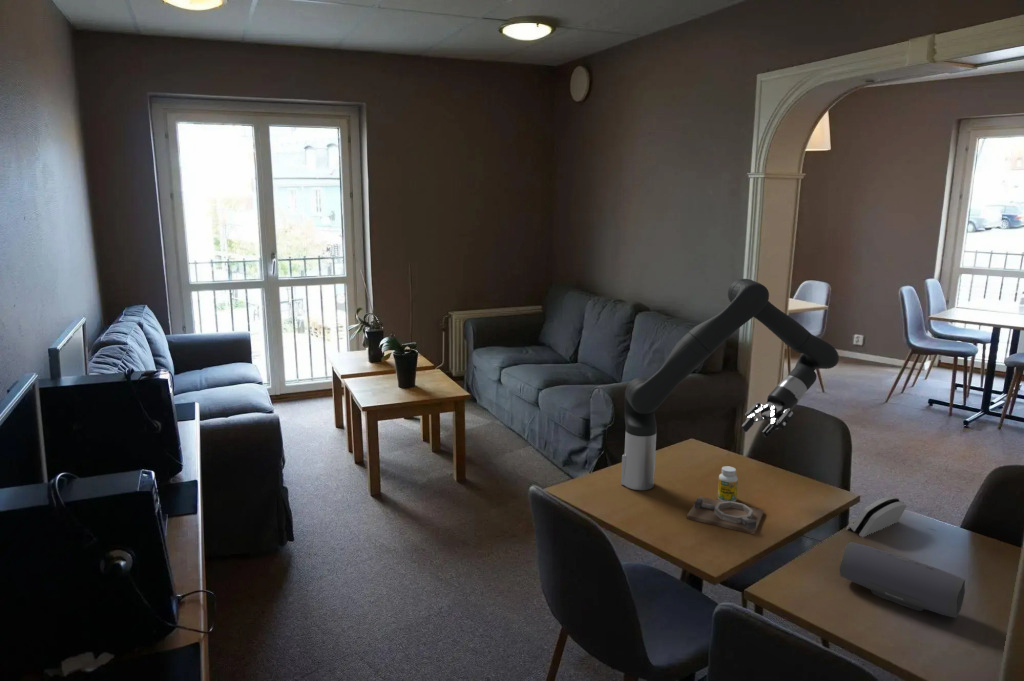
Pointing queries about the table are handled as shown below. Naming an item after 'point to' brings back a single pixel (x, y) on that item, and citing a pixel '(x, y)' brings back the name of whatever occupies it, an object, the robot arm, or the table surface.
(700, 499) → the stand
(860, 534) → the white two-tone part
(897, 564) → the bluetooth speaker
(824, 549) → the table surface
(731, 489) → the supplement bottle
